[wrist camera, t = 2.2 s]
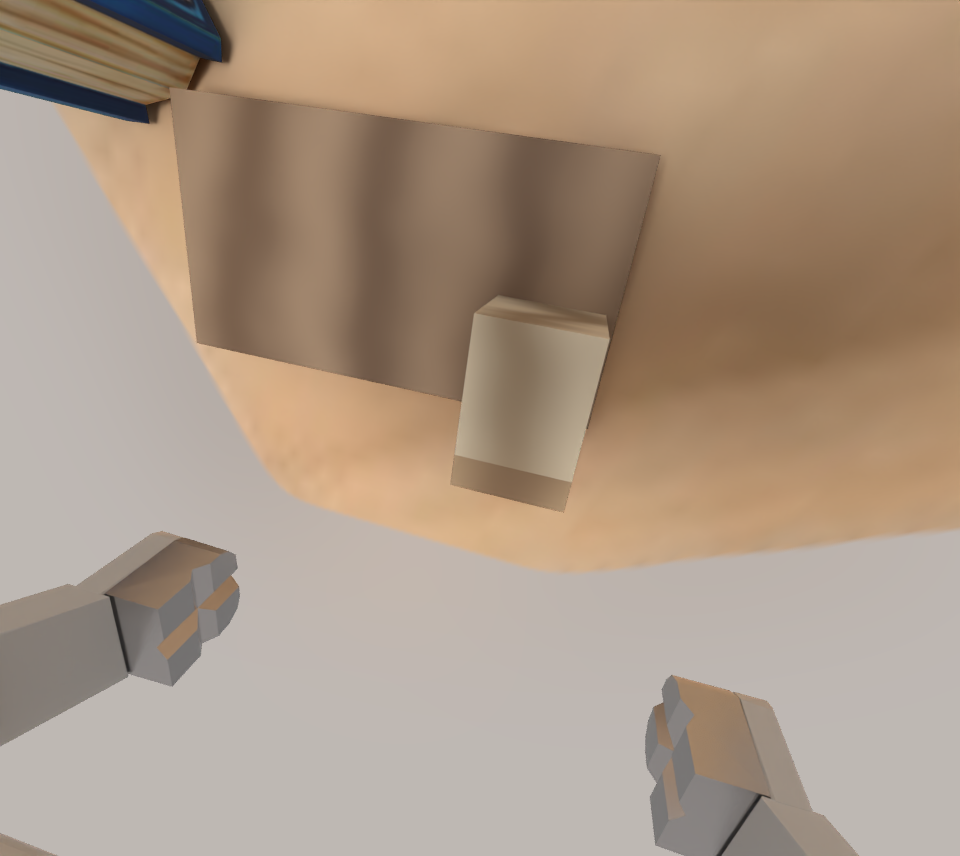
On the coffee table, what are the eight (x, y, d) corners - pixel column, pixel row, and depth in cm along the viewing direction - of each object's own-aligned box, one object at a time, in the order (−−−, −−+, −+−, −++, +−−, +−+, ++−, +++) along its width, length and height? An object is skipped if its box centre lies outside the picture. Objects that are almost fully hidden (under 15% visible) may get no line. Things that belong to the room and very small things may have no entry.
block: (605, 307, 23) (609, 339, 17) (570, 442, 26) (563, 512, 20) (506, 289, 24) (474, 312, 18) (484, 422, 27) (450, 484, 21)
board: (653, 162, 21) (660, 154, 19) (588, 411, 26) (587, 429, 24) (209, 100, 24) (169, 86, 22) (227, 333, 29) (197, 343, 27)
